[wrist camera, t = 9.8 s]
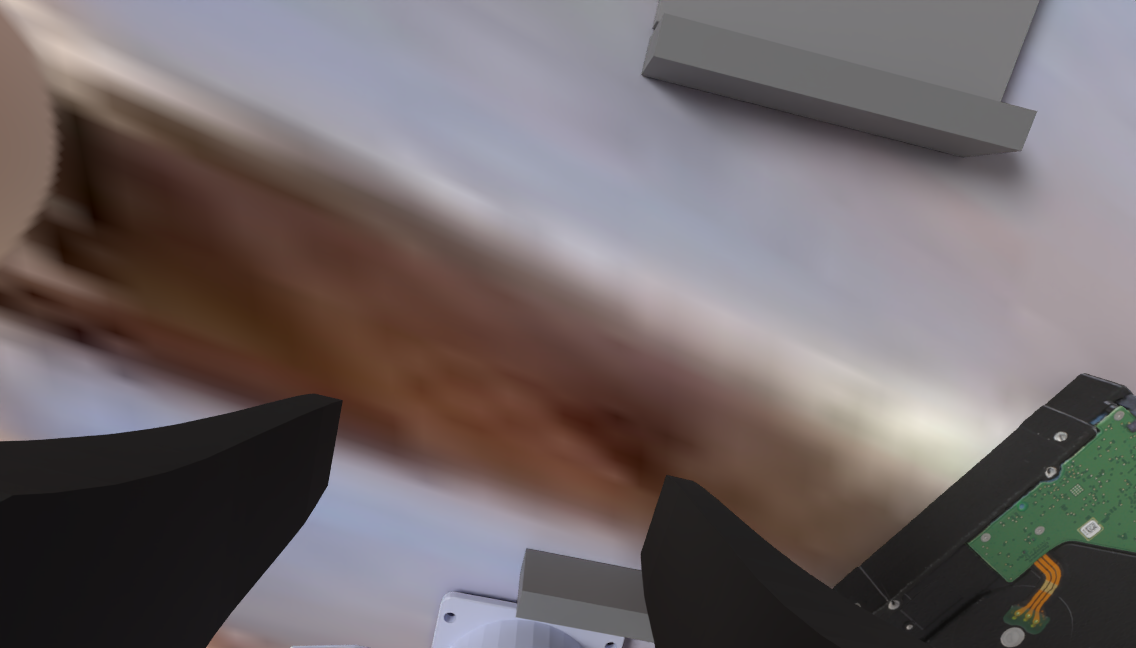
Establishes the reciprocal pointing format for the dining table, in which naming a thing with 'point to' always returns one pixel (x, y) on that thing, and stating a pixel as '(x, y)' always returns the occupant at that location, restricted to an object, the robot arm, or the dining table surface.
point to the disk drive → (1024, 538)
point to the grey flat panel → (826, 93)
